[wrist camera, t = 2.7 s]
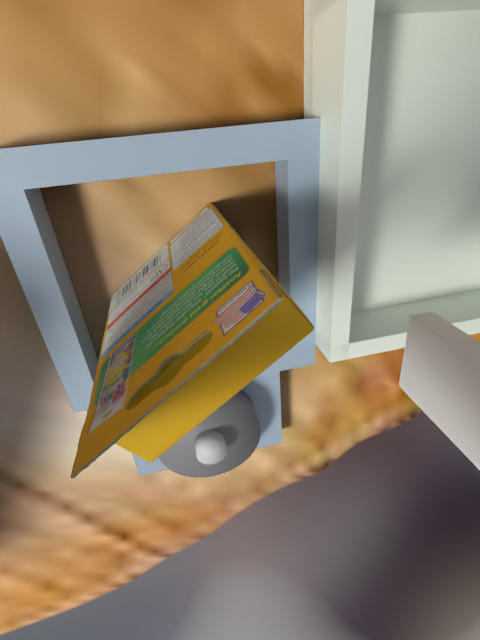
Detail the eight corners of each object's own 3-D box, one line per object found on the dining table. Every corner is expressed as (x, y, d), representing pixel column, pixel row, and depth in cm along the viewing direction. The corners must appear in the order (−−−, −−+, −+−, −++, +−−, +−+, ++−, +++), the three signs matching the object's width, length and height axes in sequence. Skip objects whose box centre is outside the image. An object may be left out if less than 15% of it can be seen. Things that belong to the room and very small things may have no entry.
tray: (304, -6, 15) (350, -47, 11) (587, -19, 17) (699, -58, 13) (303, 326, 23) (330, 362, 19) (496, 291, 24) (552, 317, 21)
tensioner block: (-13, 149, 15) (-60, 155, 12) (303, 118, 17) (339, 116, 14) (110, 467, 25) (104, 519, 21) (302, 424, 27) (323, 466, 23)
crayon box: (151, 329, 20) (148, 520, 10) (110, 295, 19) (60, 479, 9) (247, 243, 19) (348, 366, 9) (210, 200, 18) (281, 291, 8)
